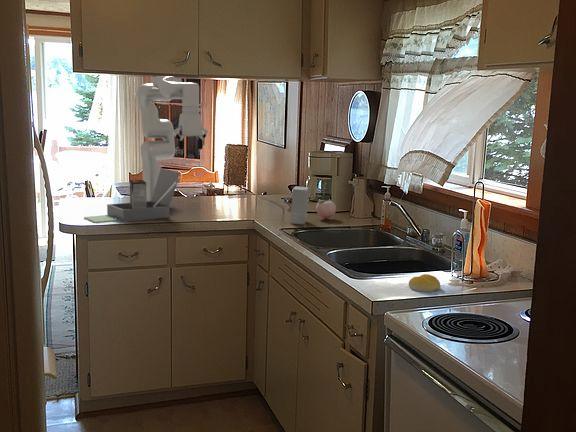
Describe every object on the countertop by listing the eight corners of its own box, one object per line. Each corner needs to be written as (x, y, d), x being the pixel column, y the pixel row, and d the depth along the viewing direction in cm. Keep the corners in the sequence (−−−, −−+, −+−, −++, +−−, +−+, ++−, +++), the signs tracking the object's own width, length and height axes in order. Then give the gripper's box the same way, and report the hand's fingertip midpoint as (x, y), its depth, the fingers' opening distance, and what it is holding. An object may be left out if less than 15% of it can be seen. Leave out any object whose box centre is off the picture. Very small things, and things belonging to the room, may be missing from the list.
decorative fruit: (324, 221, 287) (324, 199, 285) (312, 218, 294) (313, 197, 292) (339, 220, 292) (340, 198, 291) (328, 217, 299) (329, 196, 297)
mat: (84, 218, 280) (84, 216, 279) (106, 216, 286) (106, 215, 285) (95, 223, 269) (95, 221, 269) (117, 221, 275) (117, 219, 275)
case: (107, 215, 288) (106, 170, 285) (162, 210, 305) (162, 168, 301) (124, 222, 273) (123, 175, 270) (181, 216, 290) (181, 172, 286)
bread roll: (403, 287, 186) (403, 274, 186) (423, 283, 192) (424, 270, 191) (424, 294, 180) (425, 281, 179) (445, 290, 185) (446, 276, 185)
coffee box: (129, 214, 291) (129, 179, 288) (144, 214, 293) (143, 179, 290) (132, 218, 283) (131, 182, 280) (147, 217, 285) (146, 182, 282)
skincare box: (292, 220, 288) (293, 185, 285) (308, 221, 287) (309, 186, 284) (289, 223, 280) (290, 188, 277) (305, 224, 279) (306, 189, 276)
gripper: (203, 110, 293) (202, 148, 296) (169, 110, 282) (169, 149, 285) (211, 111, 287) (211, 149, 290) (177, 110, 276) (177, 150, 279)
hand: (190, 149), depth 287 cm, fingers open, 9 cm apart
